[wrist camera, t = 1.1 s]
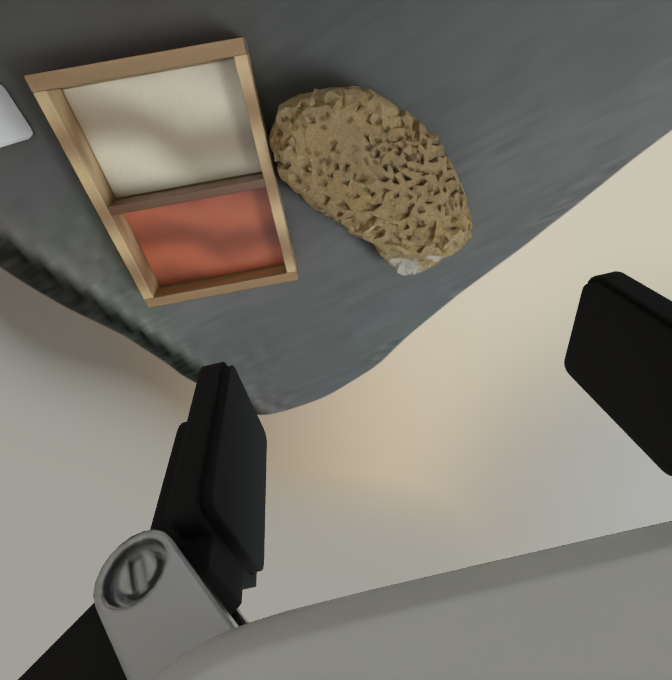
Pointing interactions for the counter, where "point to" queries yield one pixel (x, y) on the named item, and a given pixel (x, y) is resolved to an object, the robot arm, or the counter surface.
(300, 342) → the counter surface
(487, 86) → the counter surface
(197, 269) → the tray
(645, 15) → the counter surface
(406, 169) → the sponge
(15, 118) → the salt shaker
